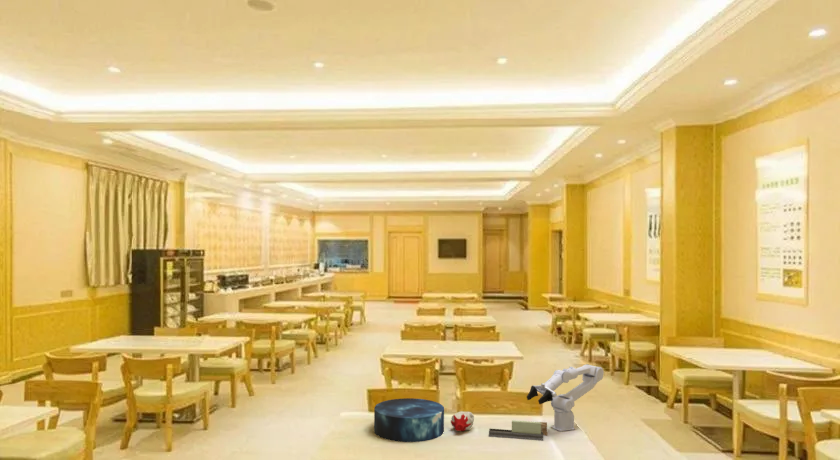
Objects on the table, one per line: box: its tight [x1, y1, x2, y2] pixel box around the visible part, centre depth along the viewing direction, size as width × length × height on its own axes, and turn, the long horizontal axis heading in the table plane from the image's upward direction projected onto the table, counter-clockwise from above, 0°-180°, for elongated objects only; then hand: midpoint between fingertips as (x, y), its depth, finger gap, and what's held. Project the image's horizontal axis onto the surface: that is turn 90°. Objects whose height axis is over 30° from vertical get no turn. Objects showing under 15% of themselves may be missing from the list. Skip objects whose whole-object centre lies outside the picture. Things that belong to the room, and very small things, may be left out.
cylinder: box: [373, 397, 445, 443], centre depth 288 cm, size 35×35×12 cm
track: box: [488, 428, 544, 441], centre depth 280 cm, size 26×7×2 cm, turn 79°
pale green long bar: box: [511, 419, 542, 434], centre depth 280 cm, size 14×2×6 cm, turn 79°
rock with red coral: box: [450, 411, 475, 432], centre depth 288 cm, size 9×11×15 cm
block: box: [540, 421, 548, 437], centre depth 285 cm, size 5×5×5 cm
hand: (533, 400), depth 282 cm, fingers open, 7 cm apart
